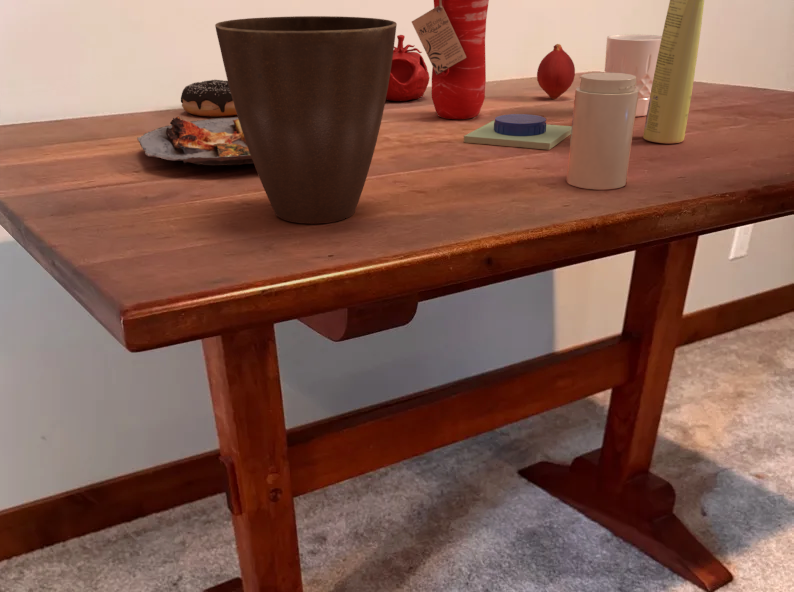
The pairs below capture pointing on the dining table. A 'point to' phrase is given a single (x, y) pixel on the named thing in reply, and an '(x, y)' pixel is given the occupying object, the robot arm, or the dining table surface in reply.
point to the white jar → (602, 130)
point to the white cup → (634, 62)
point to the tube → (674, 73)
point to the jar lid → (520, 125)
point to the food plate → (199, 142)
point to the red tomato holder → (407, 74)
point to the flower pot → (309, 106)
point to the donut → (208, 99)
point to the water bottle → (456, 55)
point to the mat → (519, 137)
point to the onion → (556, 72)
